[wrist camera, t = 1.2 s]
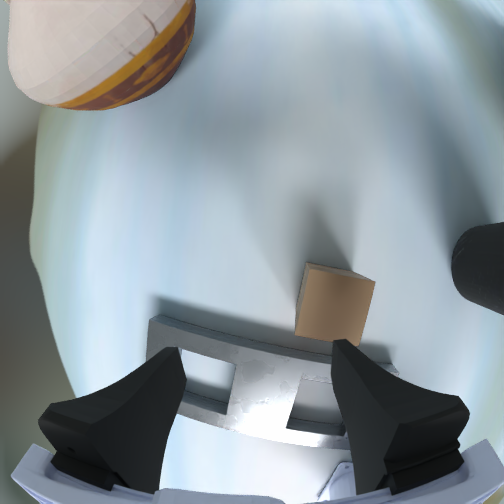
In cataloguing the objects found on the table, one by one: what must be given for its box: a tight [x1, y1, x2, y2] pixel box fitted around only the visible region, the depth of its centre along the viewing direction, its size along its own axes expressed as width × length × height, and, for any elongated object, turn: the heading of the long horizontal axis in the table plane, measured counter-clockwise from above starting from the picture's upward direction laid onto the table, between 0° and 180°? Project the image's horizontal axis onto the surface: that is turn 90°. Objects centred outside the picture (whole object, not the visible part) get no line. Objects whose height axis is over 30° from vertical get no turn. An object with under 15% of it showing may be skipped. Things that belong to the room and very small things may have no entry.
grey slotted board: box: [146, 315, 399, 450], centre depth 22 cm, size 22×9×2 cm, turn 79°
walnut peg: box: [295, 262, 375, 346], centre depth 19 cm, size 4×4×7 cm
